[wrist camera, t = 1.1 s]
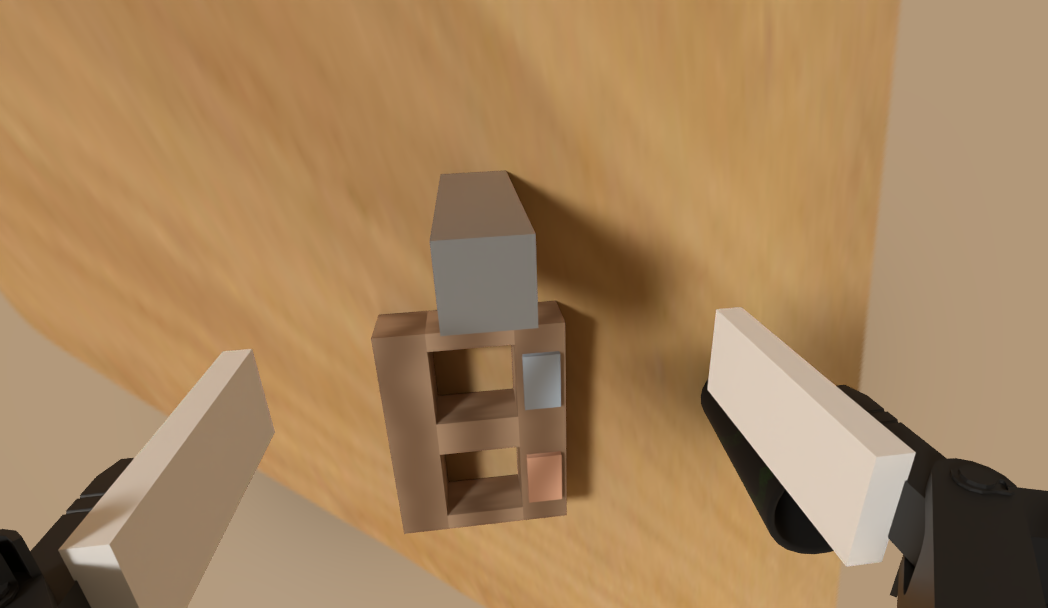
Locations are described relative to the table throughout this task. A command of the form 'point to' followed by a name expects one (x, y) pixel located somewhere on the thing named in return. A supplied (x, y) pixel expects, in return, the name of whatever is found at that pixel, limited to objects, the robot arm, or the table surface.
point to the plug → (483, 256)
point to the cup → (764, 486)
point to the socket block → (473, 422)
